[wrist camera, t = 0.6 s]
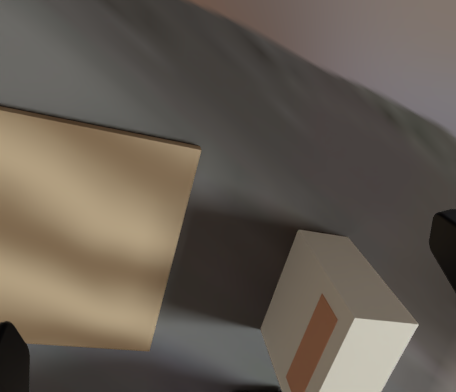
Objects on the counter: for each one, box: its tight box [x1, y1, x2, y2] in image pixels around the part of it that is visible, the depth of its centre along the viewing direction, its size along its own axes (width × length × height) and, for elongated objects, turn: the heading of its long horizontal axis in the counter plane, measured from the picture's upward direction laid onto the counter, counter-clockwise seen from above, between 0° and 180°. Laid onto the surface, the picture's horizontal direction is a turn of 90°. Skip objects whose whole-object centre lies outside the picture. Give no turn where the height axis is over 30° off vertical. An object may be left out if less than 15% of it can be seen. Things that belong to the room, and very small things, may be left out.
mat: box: [0, 106, 201, 351], centre depth 23 cm, size 14×16×1 cm
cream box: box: [260, 229, 419, 392], centre depth 25 cm, size 8×4×8 cm, turn 165°
